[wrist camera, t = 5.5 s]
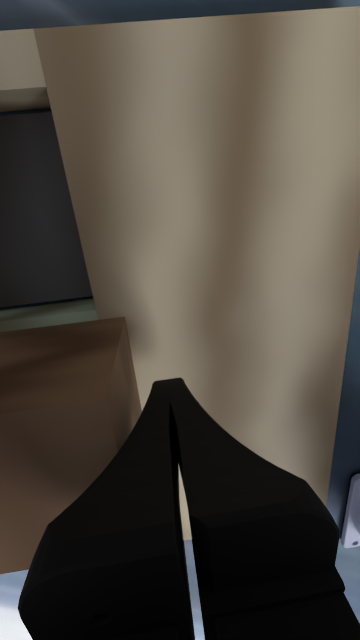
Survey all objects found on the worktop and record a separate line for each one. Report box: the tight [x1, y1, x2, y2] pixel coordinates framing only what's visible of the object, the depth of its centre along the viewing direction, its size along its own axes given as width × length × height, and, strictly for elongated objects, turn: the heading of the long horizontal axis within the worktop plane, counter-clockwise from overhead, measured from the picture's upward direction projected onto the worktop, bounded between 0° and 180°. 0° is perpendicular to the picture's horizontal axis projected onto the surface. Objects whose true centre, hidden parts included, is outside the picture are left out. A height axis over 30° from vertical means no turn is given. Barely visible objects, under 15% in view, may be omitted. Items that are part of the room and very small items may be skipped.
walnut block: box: [0, 317, 142, 574], centre depth 11 cm, size 6×6×6 cm
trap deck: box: [0, 6, 360, 541], centre depth 15 cm, size 22×26×2 cm
